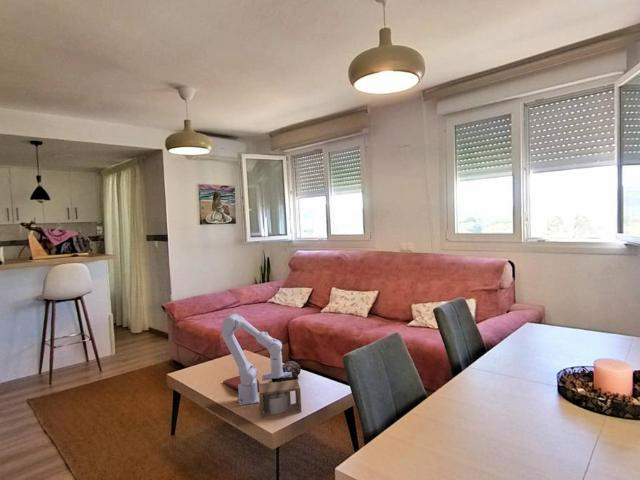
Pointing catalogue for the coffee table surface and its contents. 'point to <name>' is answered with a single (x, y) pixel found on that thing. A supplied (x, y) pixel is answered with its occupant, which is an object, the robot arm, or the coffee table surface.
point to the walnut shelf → (278, 388)
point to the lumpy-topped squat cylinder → (276, 402)
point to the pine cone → (291, 370)
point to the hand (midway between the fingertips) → (277, 392)
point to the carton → (236, 382)
